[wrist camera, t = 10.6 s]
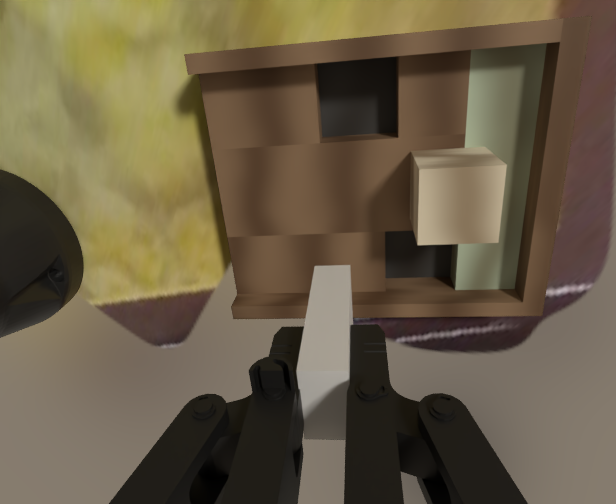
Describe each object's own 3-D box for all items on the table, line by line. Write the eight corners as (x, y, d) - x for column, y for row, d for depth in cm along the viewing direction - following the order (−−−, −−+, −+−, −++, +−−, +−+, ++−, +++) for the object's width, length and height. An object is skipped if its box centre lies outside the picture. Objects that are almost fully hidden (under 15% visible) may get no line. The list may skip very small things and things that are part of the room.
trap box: (246, 291, 40) (233, 318, 36) (206, 52, 32) (184, 54, 28) (522, 286, 37) (542, 315, 33) (559, 19, 29) (592, 15, 25)
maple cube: (409, 217, 33) (417, 245, 28) (410, 151, 31) (419, 169, 26) (479, 214, 32) (498, 242, 28) (485, 146, 30) (506, 164, 26)
